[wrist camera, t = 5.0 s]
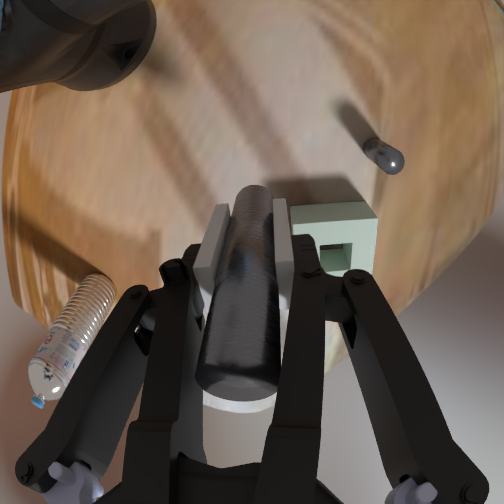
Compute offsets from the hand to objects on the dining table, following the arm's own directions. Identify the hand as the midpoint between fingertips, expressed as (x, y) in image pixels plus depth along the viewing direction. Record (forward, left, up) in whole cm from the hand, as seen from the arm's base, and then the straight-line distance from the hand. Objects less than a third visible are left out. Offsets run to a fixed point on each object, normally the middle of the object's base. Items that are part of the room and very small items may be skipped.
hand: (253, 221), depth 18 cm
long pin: (0, 0, -3) cm, 3 cm away
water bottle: (+18, -30, -18) cm, 39 cm away
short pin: (0, +14, -17) cm, 22 cm away
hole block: (+12, +8, -17) cm, 23 cm away
